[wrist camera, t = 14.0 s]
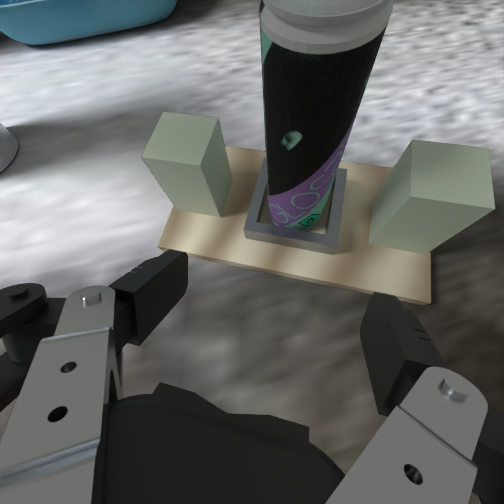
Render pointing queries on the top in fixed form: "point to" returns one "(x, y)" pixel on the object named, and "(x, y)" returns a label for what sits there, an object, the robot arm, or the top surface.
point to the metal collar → (294, 236)
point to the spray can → (313, 95)
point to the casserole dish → (76, 18)
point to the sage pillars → (383, 205)
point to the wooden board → (304, 261)
